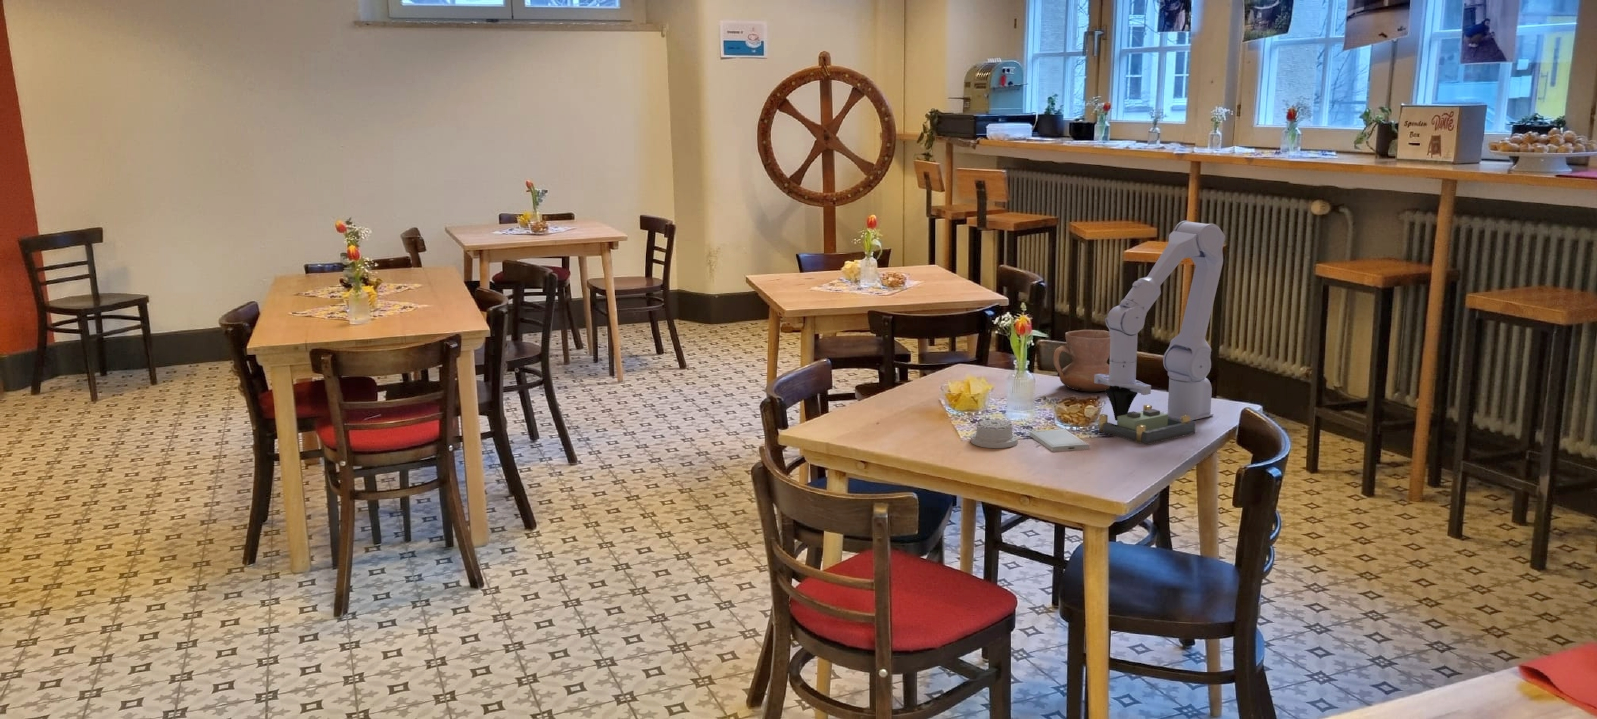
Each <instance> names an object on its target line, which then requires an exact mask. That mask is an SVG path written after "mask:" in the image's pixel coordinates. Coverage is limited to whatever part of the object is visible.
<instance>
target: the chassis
mask: <svg viewBox="0 0 1597 719" xmlns="http://www.w3.org/2000/svg"><path fill="white" fill-rule="evenodd" d="M1142 407H1143V408H1142V409H1143V410H1142V411H1145V410H1150V409H1153V408H1152V405H1150V404H1144V405H1143V406H1142ZM1108 417H1109V415H1107V414H1102V413H1101V414H1099V415H1098V432H1100V433H1101V432H1102V433H1105V434H1109V435H1112V436H1116V437H1118V438H1122V439H1125V440H1130V441H1133V442H1136V443H1138V444H1142V445H1145V446H1146V445H1151V444H1154V443H1159V442H1163V441H1166V440H1171V439H1176V438H1180V437H1184V436H1188V435H1192V434H1195V432H1196V421H1195V420H1192V421H1190V416H1189V415H1182V416H1181V420H1178V419H1174V418H1170V417H1168V424H1167V426H1166V427H1161V428H1157V429H1153V430H1148V431H1145V430H1146V426H1145V425H1137V430H1133V429H1129V428H1126V427H1122V426H1119V425H1117V424H1114V423H1111V422H1108V419H1109V418H1108Z"/></svg>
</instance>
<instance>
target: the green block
mask: <svg viewBox="0 0 1597 719" xmlns="http://www.w3.org/2000/svg"><path fill="white" fill-rule="evenodd" d="M1160 412H1161V410H1159V409H1155V408H1152V409H1150V410H1145V411H1143V410H1142V411H1128V413H1127V414H1126V415H1121V416H1117V423H1116V425H1119V426H1122V427H1126V428H1129V429H1133V430H1137V425H1145V426H1146V430H1145V431H1148V430H1153V429H1157V428H1161V427H1166V426H1167V424H1168V414H1164V413H1160Z"/></svg>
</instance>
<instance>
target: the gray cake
mask: <svg viewBox="0 0 1597 719" xmlns="http://www.w3.org/2000/svg"><path fill="white" fill-rule="evenodd" d="M1013 428H1014V427H1013V423H1010V422H1009V421H1007V420H1005V419H1004V420H1002V419H982V420H979V421H977V424H976V432H973V433H971V435H970V442H971V444H973V445H975V446H977V447H981V448H987V449H1006V448H1010V447H1015V446H1017V445H1018V443H1019V436H1018V435H1017V434H1015V433H1013V431H1014V429H1013Z"/></svg>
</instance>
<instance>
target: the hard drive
mask: <svg viewBox="0 0 1597 719" xmlns="http://www.w3.org/2000/svg"><path fill="white" fill-rule="evenodd" d="M1029 436H1030V437H1031V438H1032V439H1033V440H1035V441H1037V442H1038V443H1039V444H1041V445H1043V446H1044V447H1046V448H1047V449H1048V450H1050V451H1051V452H1066V451H1067V452H1068V451H1079V450H1080V451H1081V450H1090V448H1091V445H1090V444H1089V443H1087V442H1085V441H1084V440H1082V439H1081V438H1080V437H1077V436H1076V435H1074V434H1073V433H1072V432H1070V431H1068V430H1067V429H1064V428H1058V429H1057V428H1056V429H1045V430H1042V429H1041V430H1032V431H1030V432H1029Z"/></svg>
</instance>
